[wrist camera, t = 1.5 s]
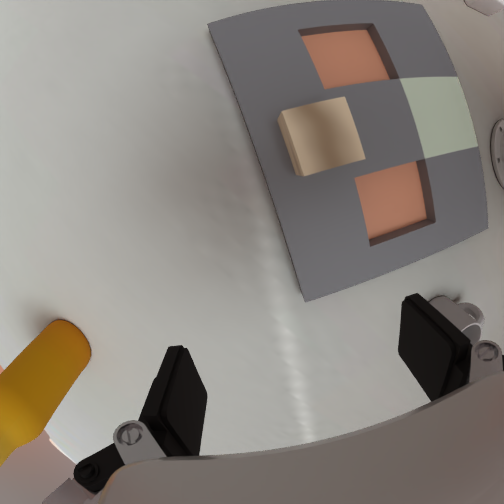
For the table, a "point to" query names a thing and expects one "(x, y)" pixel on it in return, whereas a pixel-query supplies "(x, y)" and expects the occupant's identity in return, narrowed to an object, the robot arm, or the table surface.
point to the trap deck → (369, 130)
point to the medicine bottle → (486, 6)
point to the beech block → (320, 136)
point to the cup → (461, 316)
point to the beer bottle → (39, 383)
